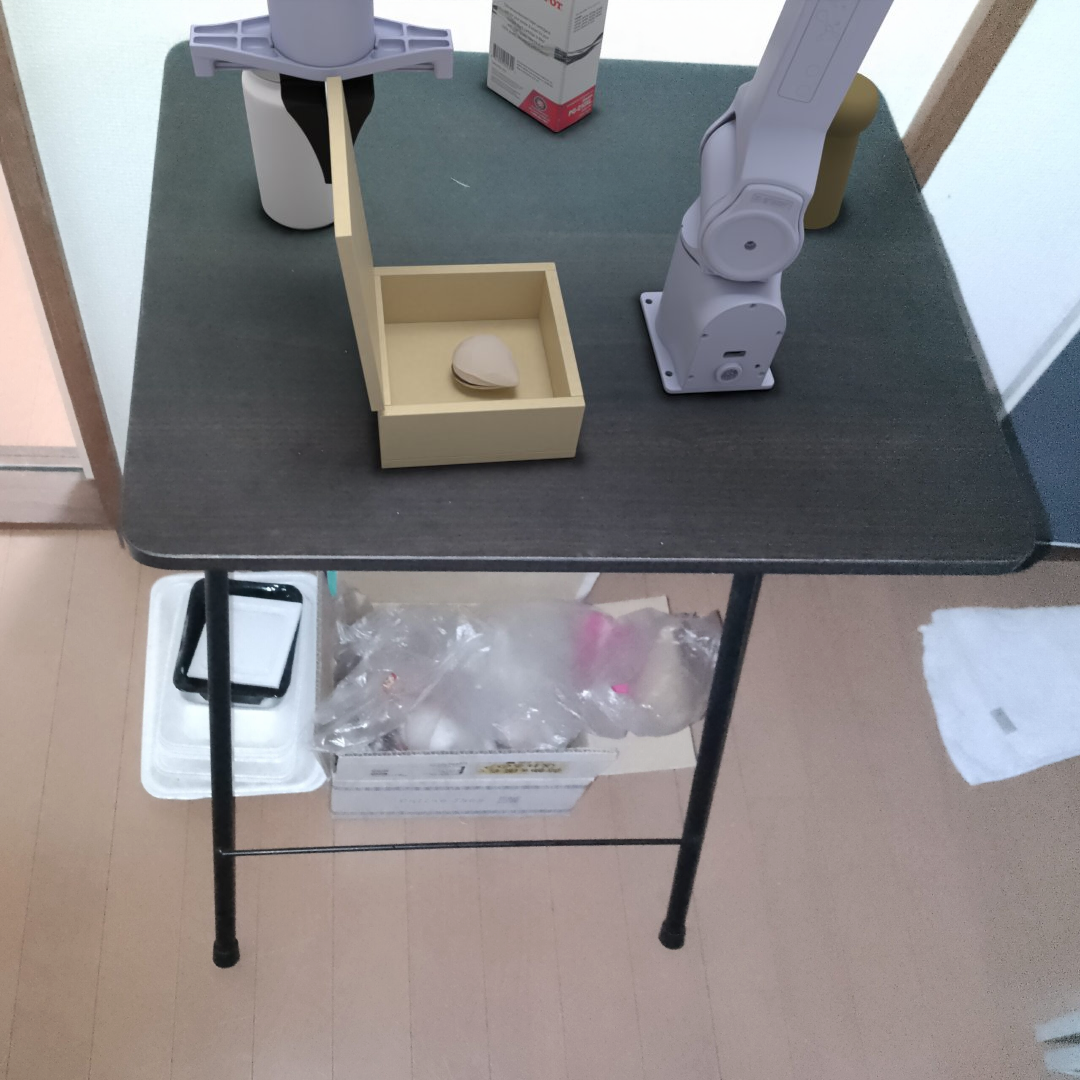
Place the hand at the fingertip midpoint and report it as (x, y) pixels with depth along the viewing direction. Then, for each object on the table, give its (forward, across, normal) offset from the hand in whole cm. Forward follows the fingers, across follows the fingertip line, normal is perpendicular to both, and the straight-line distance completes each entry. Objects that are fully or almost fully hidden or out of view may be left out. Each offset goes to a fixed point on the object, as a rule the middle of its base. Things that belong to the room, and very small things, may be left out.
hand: (335, 173), depth 64 cm
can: (+10, +3, -9) cm, 13 cm away
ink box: (+10, -17, -22) cm, 29 cm away
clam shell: (+9, -9, +10) cm, 16 cm away
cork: (+10, -37, -8) cm, 39 cm away
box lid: (-3, -1, +10) cm, 11 cm away
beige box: (+10, -8, +10) cm, 16 cm away
